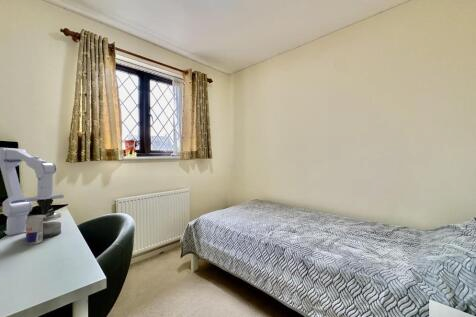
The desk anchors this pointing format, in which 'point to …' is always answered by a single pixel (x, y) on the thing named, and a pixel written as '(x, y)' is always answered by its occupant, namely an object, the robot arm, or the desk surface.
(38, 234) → the energy drink
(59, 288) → the desk surface
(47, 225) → the grey metal cylinder
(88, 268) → the desk surface
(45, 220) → the small frying pan
